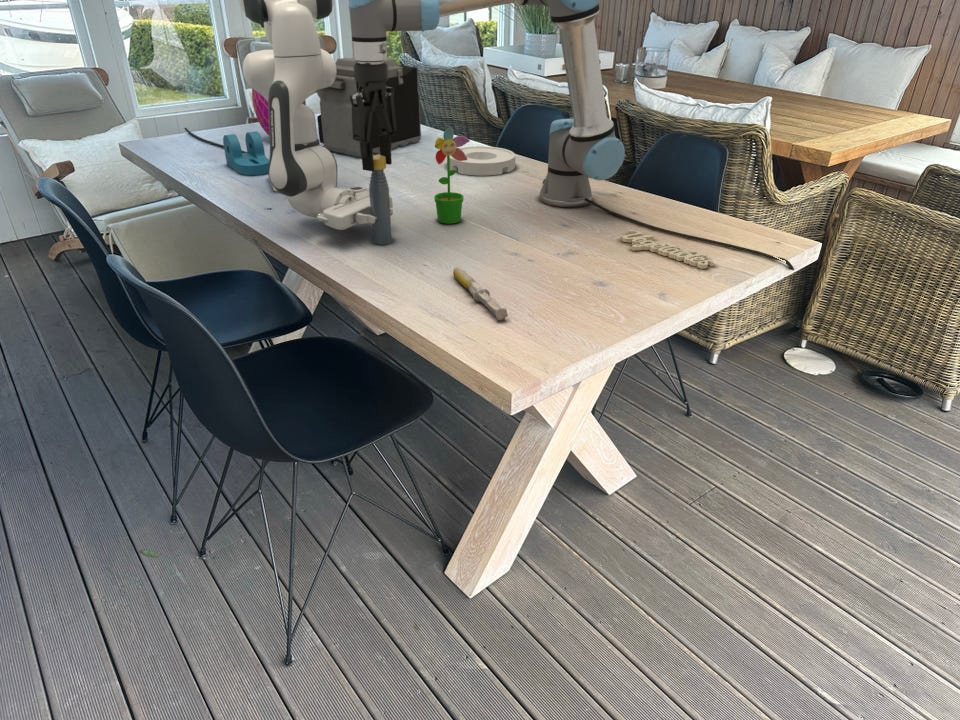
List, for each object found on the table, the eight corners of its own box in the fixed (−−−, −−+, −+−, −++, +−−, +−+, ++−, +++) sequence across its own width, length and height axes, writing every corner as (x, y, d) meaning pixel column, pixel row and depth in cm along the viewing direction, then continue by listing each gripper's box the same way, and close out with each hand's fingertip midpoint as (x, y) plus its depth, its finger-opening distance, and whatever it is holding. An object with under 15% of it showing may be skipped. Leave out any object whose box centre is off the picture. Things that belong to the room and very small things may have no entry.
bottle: (394, 238, 174) (389, 158, 164) (389, 245, 170) (384, 163, 160) (375, 237, 175) (370, 157, 165) (370, 244, 171) (364, 162, 161)
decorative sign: (607, 237, 173) (632, 229, 179) (607, 241, 174) (631, 232, 180) (698, 269, 156) (722, 258, 162) (697, 273, 157) (721, 262, 163)
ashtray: (449, 157, 245) (449, 145, 243) (514, 158, 244) (514, 146, 242) (444, 174, 225) (444, 162, 223) (515, 176, 224) (515, 164, 222)
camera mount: (227, 164, 233) (221, 132, 227) (257, 160, 238) (252, 129, 233) (244, 176, 220) (239, 143, 215) (276, 172, 225) (271, 139, 220)
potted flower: (440, 227, 182) (438, 129, 169) (428, 218, 188) (425, 123, 175) (472, 221, 185) (472, 126, 173) (459, 213, 191) (459, 120, 179)
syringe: (449, 274, 155) (449, 263, 153) (465, 272, 156) (464, 260, 154) (490, 323, 135) (491, 310, 133) (508, 319, 136) (508, 307, 134)
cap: (389, 167, 163) (389, 157, 162) (376, 171, 161) (375, 160, 159) (378, 164, 166) (377, 154, 164) (365, 167, 163) (364, 157, 162)
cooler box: (383, 133, 276) (378, 52, 261) (425, 141, 265) (422, 56, 250) (314, 150, 251) (304, 61, 235) (358, 160, 240) (350, 67, 224)
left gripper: (310, 204, 166) (354, 215, 160) (365, 184, 181) (407, 193, 175) (313, 229, 169) (356, 240, 163) (367, 208, 184) (408, 217, 178)
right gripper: (356, 68, 143) (365, 178, 154) (409, 58, 157) (413, 160, 169) (328, 65, 146) (338, 174, 157) (382, 56, 160) (388, 156, 172)
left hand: (383, 216), depth 169 cm, fingers closed on bottle, 5 cm apart
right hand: (377, 166), depth 163 cm, fingers open, 6 cm apart
